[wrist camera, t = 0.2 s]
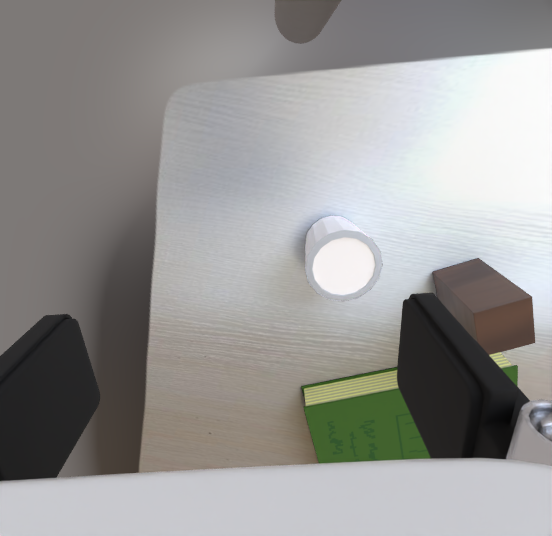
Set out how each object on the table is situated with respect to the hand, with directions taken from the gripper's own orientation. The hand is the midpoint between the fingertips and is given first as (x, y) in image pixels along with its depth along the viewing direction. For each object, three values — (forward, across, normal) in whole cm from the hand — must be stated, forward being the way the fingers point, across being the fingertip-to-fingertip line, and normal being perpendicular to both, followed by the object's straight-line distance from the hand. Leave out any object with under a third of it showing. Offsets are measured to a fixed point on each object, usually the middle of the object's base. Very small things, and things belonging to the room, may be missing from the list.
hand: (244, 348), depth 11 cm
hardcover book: (+28, -17, +33) cm, 47 cm away
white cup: (+28, -7, +7) cm, 30 cm away
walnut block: (+28, -21, +13) cm, 37 cm away
